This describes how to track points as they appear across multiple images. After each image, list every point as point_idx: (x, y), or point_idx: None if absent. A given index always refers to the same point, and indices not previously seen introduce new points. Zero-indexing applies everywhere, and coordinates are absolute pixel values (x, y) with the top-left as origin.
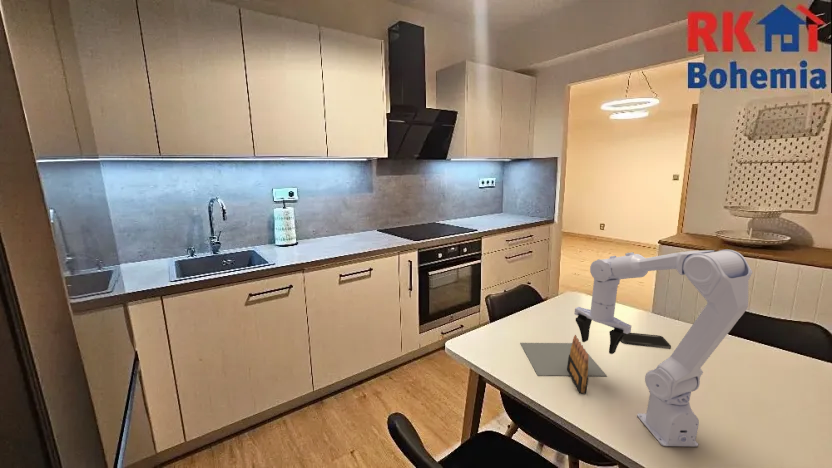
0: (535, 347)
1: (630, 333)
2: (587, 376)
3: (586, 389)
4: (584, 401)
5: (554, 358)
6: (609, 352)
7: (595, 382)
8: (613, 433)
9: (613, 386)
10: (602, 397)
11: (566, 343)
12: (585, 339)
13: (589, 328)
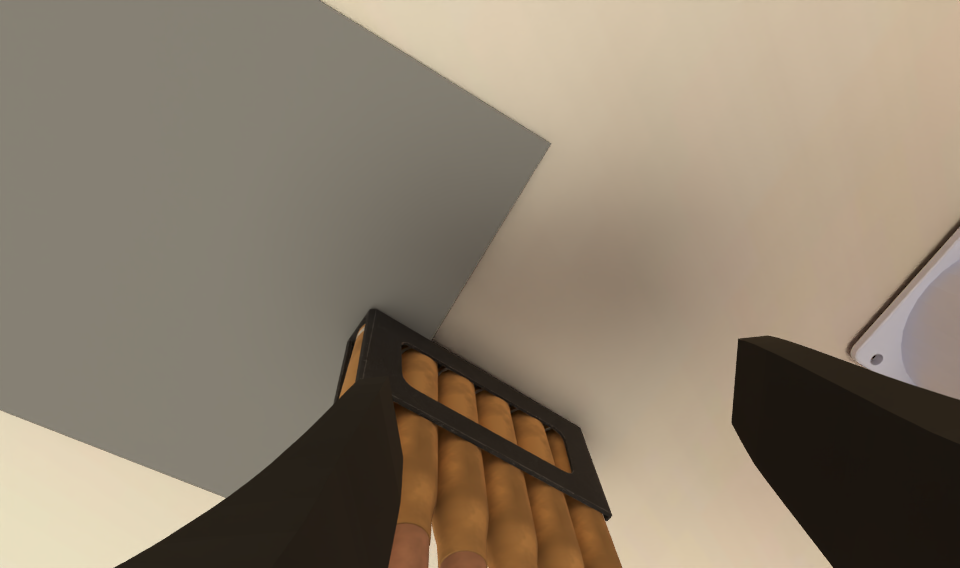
0: None
1: None
2: (604, 515)
3: (588, 453)
4: (608, 480)
5: (194, 305)
6: (743, 434)
7: (544, 282)
8: (803, 538)
9: (640, 213)
10: (651, 374)
11: None
12: (396, 462)
13: (333, 472)
